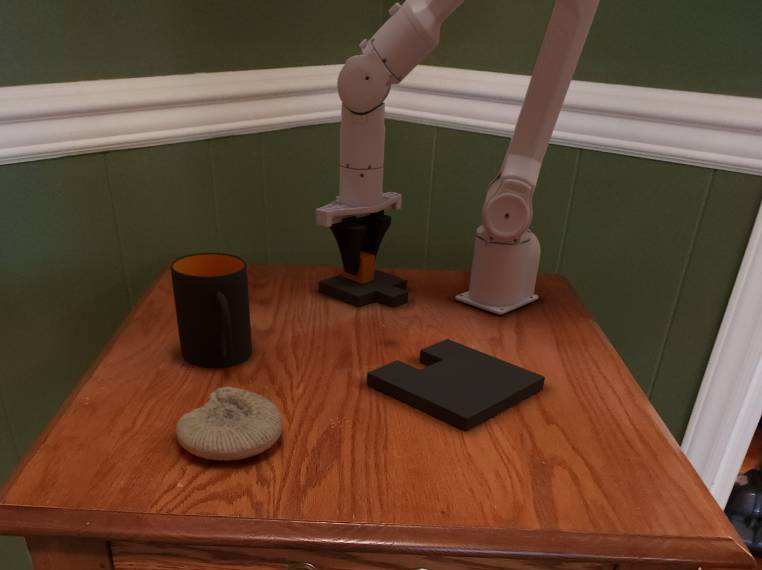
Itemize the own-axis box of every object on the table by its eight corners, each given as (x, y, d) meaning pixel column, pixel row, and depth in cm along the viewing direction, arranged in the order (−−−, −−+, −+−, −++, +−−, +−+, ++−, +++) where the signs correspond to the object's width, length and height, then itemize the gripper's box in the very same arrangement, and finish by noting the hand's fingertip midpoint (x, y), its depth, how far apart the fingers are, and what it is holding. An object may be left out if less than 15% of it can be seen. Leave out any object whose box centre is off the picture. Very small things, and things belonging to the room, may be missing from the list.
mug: (195, 386, 79) (184, 292, 73) (175, 343, 88) (164, 255, 82) (269, 376, 82) (264, 284, 75) (242, 335, 91) (236, 249, 84)
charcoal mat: (445, 350, 89) (447, 338, 88) (542, 389, 81) (545, 376, 80) (366, 384, 81) (366, 372, 80) (465, 431, 73) (467, 418, 72)
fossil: (183, 373, 73) (283, 383, 74) (183, 407, 75) (280, 416, 76) (169, 428, 64) (283, 438, 65) (170, 464, 66) (280, 473, 68)
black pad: (367, 276, 109) (368, 241, 106) (423, 296, 103) (426, 260, 100) (318, 291, 103) (318, 255, 100) (375, 313, 97) (377, 276, 94)
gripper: (377, 153, 101) (373, 253, 109) (299, 167, 93) (301, 274, 101) (415, 161, 97) (408, 265, 106) (338, 177, 89) (336, 288, 97)
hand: (358, 270), depth 103 cm, fingers closed
